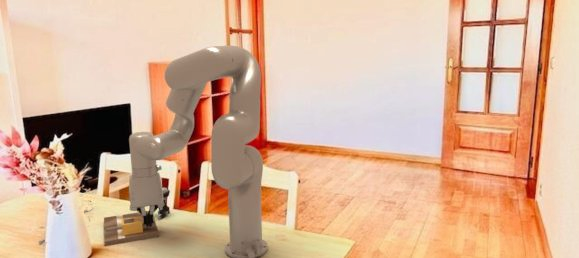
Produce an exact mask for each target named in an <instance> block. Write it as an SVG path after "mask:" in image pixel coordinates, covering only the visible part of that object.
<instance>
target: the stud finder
mask: <svg viewBox="0 0 579 258" xmlns="http://www.w3.org/2000/svg"><path fill="white" fill-rule="evenodd" d="M121 221H122V231H123V236H125V235H130V234H136V233H142V232H143V226H142V219H141V216H140V217H133V218H127V219H121Z"/></svg>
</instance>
